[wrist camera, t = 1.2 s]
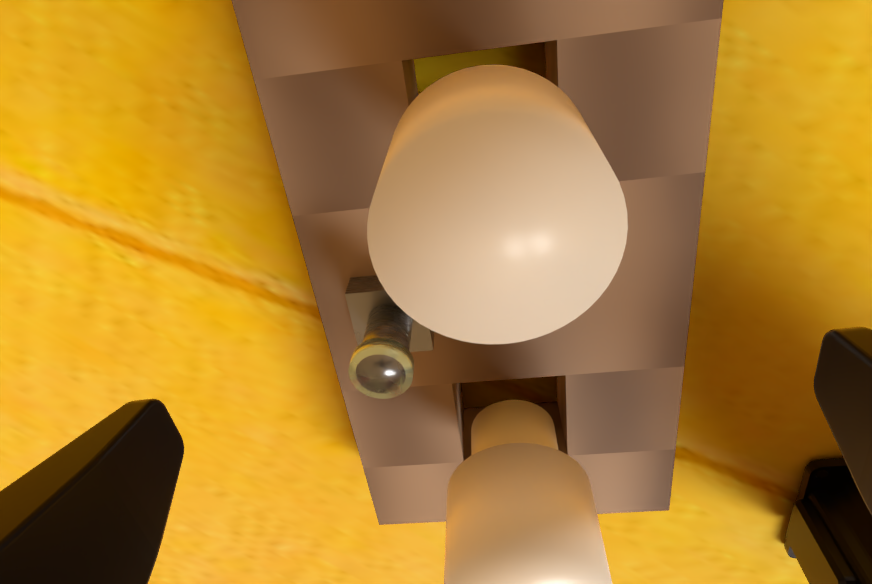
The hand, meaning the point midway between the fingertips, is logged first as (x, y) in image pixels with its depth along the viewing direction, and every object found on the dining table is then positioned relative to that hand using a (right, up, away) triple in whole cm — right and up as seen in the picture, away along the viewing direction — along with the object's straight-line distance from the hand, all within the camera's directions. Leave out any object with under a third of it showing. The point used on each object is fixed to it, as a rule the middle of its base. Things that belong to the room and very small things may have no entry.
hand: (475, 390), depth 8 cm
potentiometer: (-2, +1, +12) cm, 12 cm away
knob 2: (+2, -4, +14) cm, 14 cm away
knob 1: (+1, +6, +8) cm, 10 cm away
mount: (+2, +3, +14) cm, 14 cm away
